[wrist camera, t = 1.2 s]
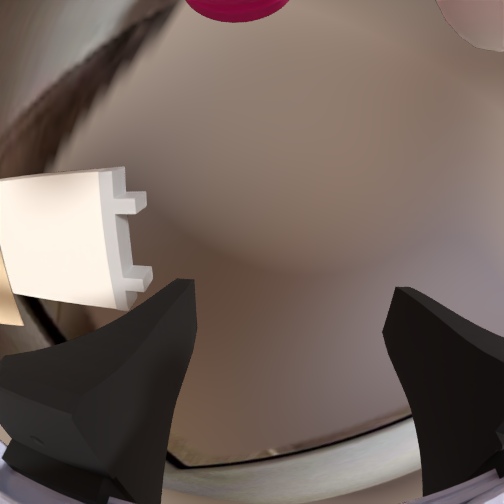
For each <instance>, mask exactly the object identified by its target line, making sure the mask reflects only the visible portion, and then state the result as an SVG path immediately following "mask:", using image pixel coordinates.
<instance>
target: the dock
mask: <svg viewBox="0 0 504 504" xmlns="http://www.w3.org/2000/svg"><path fill="white" fill-rule="evenodd" d="M0 323H1V324H10V325H20V326H24V324H23V321H22V319H21V316H20V313H19V310H18V308H17V305H16V302H15V299H14V296H13V292H12V289H11V286H10V283H9V279H8V276H7V272H6V268H5V265H4V261H3V257H2V253H1V248H0Z"/></svg>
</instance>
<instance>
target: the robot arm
mask: <svg viewBox="0 0 504 504" xmlns="http://www.w3.org/2000/svg"><path fill="white" fill-rule="evenodd" d="M196 332H197V317H196V301H195V284H194V279H178V278H177V279H176V280H174V281H172V282H171V283H170V284H168V285H167V286H166V287H164V288H163V289H162V290H160V291H159V292H158V293H156V294H155V295H153V296H152V297H150V298H149V299H148V300H146V301H145V302H144V303H142V304H141V305H139V306H137V307H136V308H134V309H133V310H131V311H130V312H128V313H127V314H125V315H124V316H122V317H120V318H118V319H117V320H115V321H113V322H111V323H109V324H107V325H105V326H103V327H101V328H99V329H97V330H95V331H93V332H90V333H88V334H85V335H83V336H80V337H78V338H75V339H73V340H70V341H67V342H64V343H61V344H58V345H55V346H51V347H47V348H44V349H40V350H35V351H30V352H25V353H19V354H13V355H6V356H4V357H3V358H2V360H1V361H0V424H1V426H2V427H3V428H4V429H5V431H6V432H7V433H8V435H9V436H10V437H11V438H12V440H11V441H10V443H9V445H8V446H7V445H6V444H5V443H3V442H2V441H1V440H0V504H161V495H162V484H163V475H164V467H165V459H166V452H167V446H168V440H169V434H170V428H171V423H172V418H173V413H174V408H175V405H176V401H177V397H178V395H179V392H180V389H181V386H182V382H183V379H184V377H185V373H186V371H187V368H188V365H189V362H190V359H191V355H192V352H193V348H194V343H195V338H196ZM382 333H383V337H384V341H385V345H386V348H387V351H388V355H389V357H390V359H391V361H392V364H393V366H394V369H395V371H396V373H397V376H398V378H399V380H400V383H401V385H402V387H403V389H404V392H405V394H406V397H407V399H408V402H409V405H410V408H411V412H412V416H413V420H414V424H415V428H416V433H417V438H418V443H419V449H420V457H421V466H422V481H423V497H421V498H418V499H415V500H411V501H408V502H404V503H400V504H504V337H501V336H499V335H496V334H494V333H492V332H490V331H488V330H486V329H483V328H481V327H479V326H477V325H476V324H474V323H472V322H470V321H469V320H467V319H465V318H463V317H461V316H459V315H458V314H456V313H455V312H453V311H451V310H450V309H448V308H446V307H445V306H443V305H441V304H440V303H438V302H437V301H435V300H433V299H432V298H430V297H428V296H426V295H425V294H423V293H421V292H419V291H417V290H415V289H413V288H411V287H395V291H394V294H393V298H392V301H391V305H390V308H389V312H388V315H387V318H386V321H385V325H384V328H383V331H382Z"/></svg>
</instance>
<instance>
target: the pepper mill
mask: <svg viewBox="0 0 504 504" xmlns="http://www.w3.org/2000/svg"><path fill="white" fill-rule="evenodd" d="M288 1H289V0H186V2H187V3H188V4H189V5H190V7H191V8H193V9H194V10H195V11H196V12H198V13H200V14H201V15H203V16H205V17H207V18H210V19H213V20H217V21H221V22H232V23H236V22H248V21H253V20H258V19H261V18H264V17H267V16H269V15H271V14H273V13H275V12H276V11H278V10H279V9H281V8H282V7H283V6H284V5H285V4H286V3H287V2H288Z"/></svg>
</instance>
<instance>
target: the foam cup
mask: <svg viewBox="0 0 504 504" xmlns="http://www.w3.org/2000/svg"><path fill="white" fill-rule="evenodd" d="M436 3H437V4H438V6H439V8H440V10H441V12H442V14H443V16H444V18H445V19H446V21H447V22H448V23H449V24H450V25H451V26H452V28H453V29H454V30H455V31H456V32H457V34H458V35H459V36H460V37H461V38H463V39H464V40H466V41H467V42H468V43H470V44H471V45H473V46H474V47H475V48H479V49H484V50H489V51H491V50H494V51H504V0H436Z"/></svg>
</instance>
